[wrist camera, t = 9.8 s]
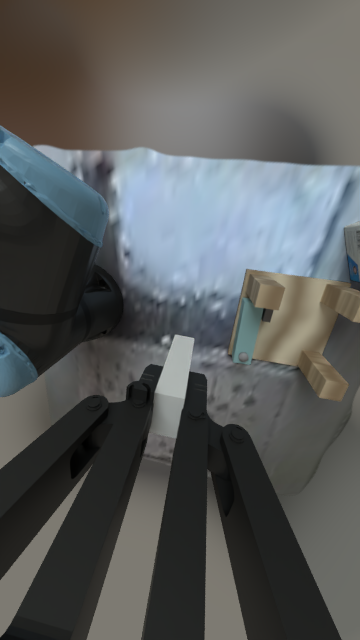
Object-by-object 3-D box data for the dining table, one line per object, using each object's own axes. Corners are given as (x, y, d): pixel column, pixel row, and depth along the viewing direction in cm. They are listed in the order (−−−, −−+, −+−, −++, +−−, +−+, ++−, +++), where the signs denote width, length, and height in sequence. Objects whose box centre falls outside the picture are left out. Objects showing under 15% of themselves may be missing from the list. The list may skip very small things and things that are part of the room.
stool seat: (227, 351, 42) (231, 383, 32) (246, 269, 36) (257, 279, 26) (313, 366, 40) (343, 404, 31) (347, 282, 34) (397, 298, 25)
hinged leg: (247, 356, 40) (251, 366, 36) (231, 353, 40) (233, 364, 37) (260, 299, 36) (265, 305, 32) (242, 297, 36) (245, 303, 33)
